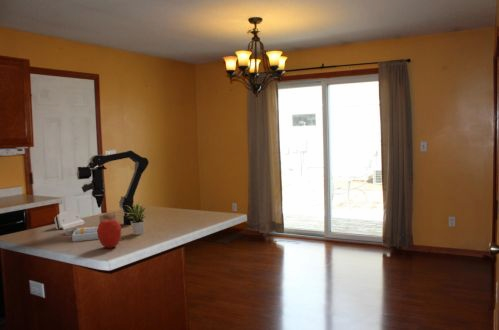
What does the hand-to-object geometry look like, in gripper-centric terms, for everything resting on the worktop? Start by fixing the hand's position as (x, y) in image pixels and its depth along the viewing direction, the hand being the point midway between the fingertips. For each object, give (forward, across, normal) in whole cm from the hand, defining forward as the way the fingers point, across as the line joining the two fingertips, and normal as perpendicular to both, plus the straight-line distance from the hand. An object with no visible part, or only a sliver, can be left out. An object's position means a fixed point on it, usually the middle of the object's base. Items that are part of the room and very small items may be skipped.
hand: (99, 206), depth 227 cm
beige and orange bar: (+11, +21, -4) cm, 25 cm away
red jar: (+12, +47, +5) cm, 49 cm away
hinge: (+12, -13, -17) cm, 25 cm away
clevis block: (+12, +8, -5) cm, 15 cm away
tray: (+12, +22, -4) cm, 25 cm away
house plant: (+12, +23, +18) cm, 32 cm away
